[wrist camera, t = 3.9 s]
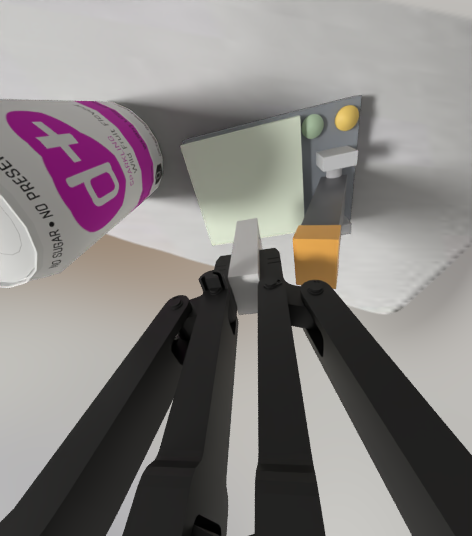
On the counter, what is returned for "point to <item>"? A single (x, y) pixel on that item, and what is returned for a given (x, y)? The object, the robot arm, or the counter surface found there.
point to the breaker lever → (321, 232)
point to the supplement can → (67, 180)
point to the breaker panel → (272, 168)
